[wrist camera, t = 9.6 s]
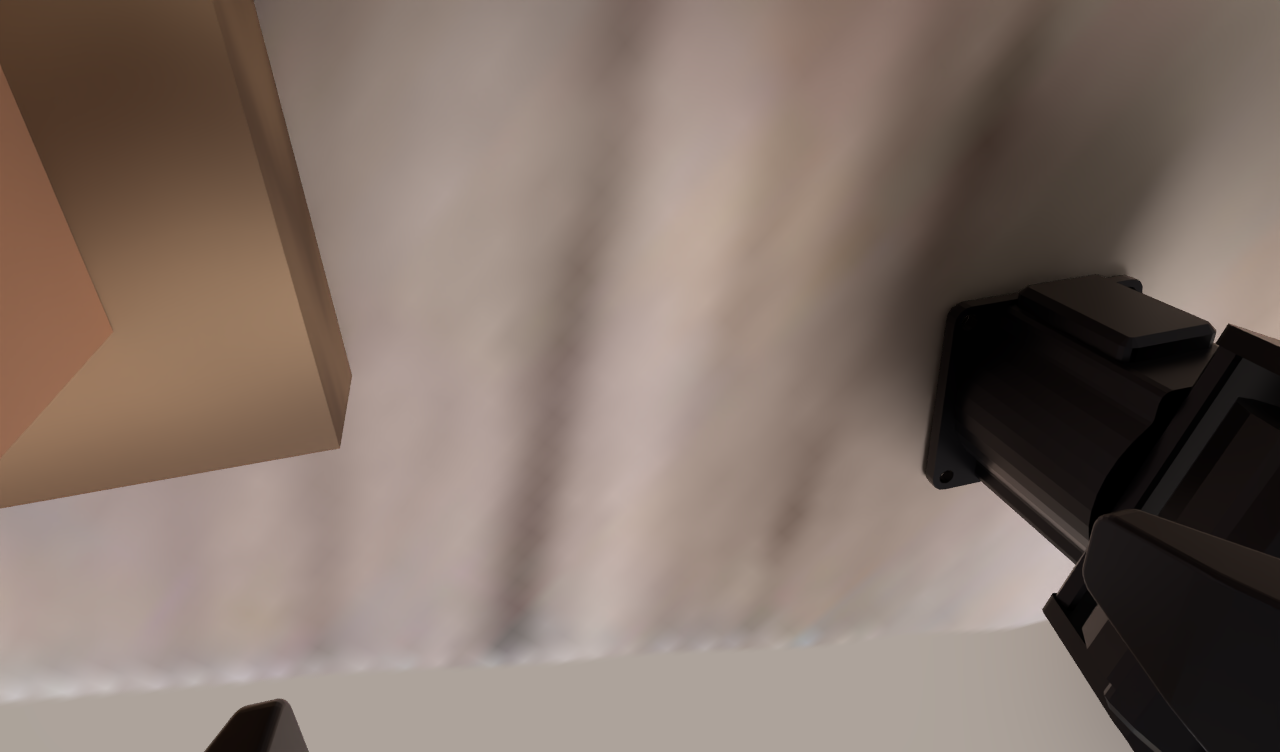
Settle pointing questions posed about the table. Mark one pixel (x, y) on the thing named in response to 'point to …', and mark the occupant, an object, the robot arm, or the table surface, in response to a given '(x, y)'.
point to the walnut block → (173, 246)
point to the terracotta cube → (37, 284)
